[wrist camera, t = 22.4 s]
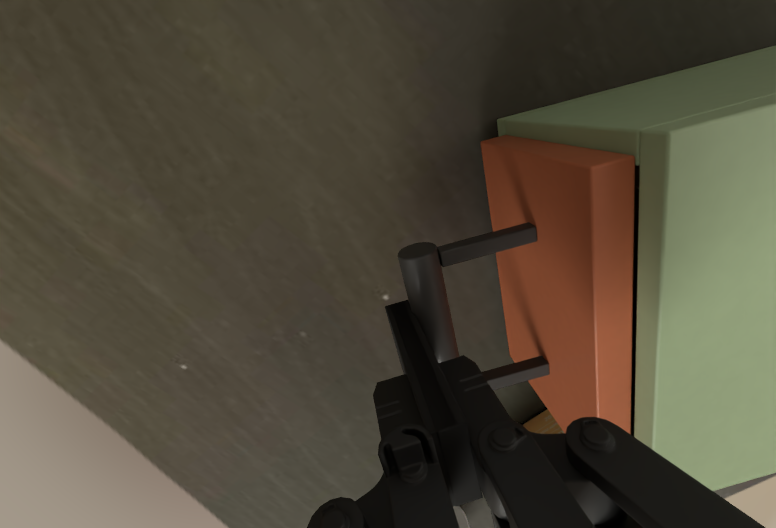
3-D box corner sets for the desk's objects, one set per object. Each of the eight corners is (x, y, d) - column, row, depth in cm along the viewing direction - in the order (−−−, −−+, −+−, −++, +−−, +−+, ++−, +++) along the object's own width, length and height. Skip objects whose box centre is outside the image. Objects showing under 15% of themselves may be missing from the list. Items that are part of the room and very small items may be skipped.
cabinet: (523, 348, 22) (650, 510, 13) (496, 119, 17) (668, 132, 8) (764, 281, 23) (1044, 394, 14) (805, 37, 18) (1288, -35, 9)
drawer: (423, 379, 21) (469, 522, 14) (370, 170, 17) (397, 219, 9) (742, 289, 22) (948, 382, 14) (775, 62, 17) (1101, 29, 10)
